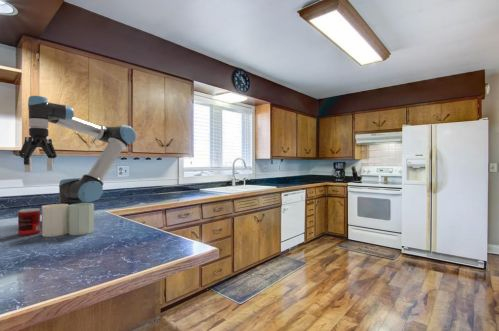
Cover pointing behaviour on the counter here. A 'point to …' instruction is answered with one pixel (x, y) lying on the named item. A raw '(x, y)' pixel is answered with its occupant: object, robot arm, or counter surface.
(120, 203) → the counter surface
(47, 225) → the crock cream
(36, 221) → the canned food
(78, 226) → the crock sage
